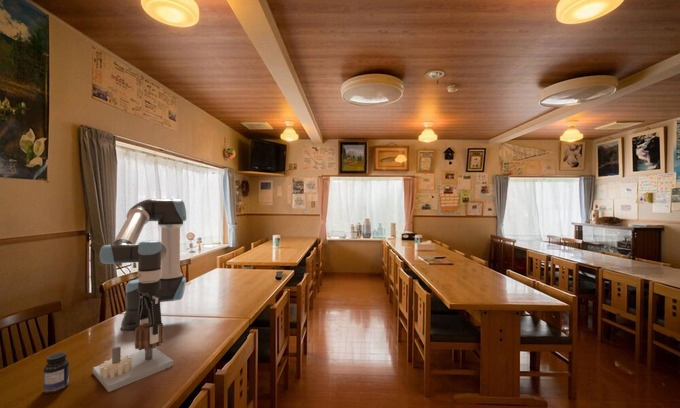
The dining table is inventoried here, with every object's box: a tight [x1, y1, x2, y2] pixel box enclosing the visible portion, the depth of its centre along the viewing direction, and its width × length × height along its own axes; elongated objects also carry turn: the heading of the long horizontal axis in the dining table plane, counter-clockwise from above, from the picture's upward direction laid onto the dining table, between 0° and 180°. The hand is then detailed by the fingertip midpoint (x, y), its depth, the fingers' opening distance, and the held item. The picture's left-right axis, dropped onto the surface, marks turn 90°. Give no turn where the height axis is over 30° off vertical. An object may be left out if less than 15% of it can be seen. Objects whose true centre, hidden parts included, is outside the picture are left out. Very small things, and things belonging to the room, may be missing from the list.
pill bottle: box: [43, 351, 70, 395], centre depth 98 cm, size 6×6×11 cm
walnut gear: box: [134, 322, 164, 351], centre depth 113 cm, size 9×9×7 cm
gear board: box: [92, 346, 174, 393], centre depth 109 cm, size 18×20×10 cm
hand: (148, 339), depth 113 cm, fingers closed on walnut gear, 9 cm apart
